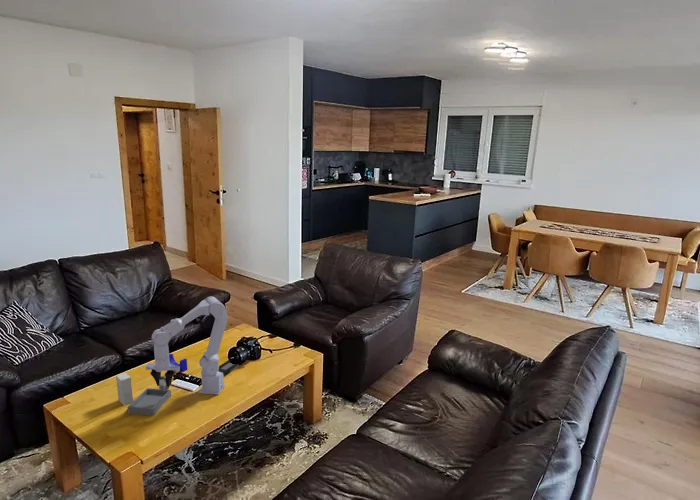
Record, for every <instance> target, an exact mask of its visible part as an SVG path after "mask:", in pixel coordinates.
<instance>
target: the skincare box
mask: <svg viewBox="0 0 700 500" xmlns="http://www.w3.org/2000/svg"><path fill="white" fill-rule="evenodd" d="M115 378H116V387H117V389H116V390H117V399H118V401H119V402H120V403H121V404H122V405H123V406H126V405H128V404H129V405H130V404H131V403H132V402H133V401H134V397H133V388H132V387H133V385H132V377H131V376H130V375H129V374H128V373H126V372H124V373H120V374H117V375H115Z"/></svg>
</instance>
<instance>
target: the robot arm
mask: <svg viewBox="0 0 700 500" xmlns="http://www.w3.org/2000/svg"><path fill="white" fill-rule="evenodd" d="M210 314H211V315H212V316H213V317H214V322H213V326H212V329H211V332H210V337H209V340H208V344H207V347H206V350H205V351H204V352H203V355H202V356H201V358H200V360H199V366H200V367H201V372H200V373H201V376H200V377H201V389H200V390H199V392H198V394H202V395H203V394H204V395H205V394H206V395H220V393H221V392H222V390H223V389H224V388H225V386H226V385H225V378H224V375H223V373H222V372H219V371H218V370H219V366H220V365H219V362H220V358H219V351H220V347H221V344H222V340H223V337H224V333H225V329H226V325H227V322H228V319H229V316H228V314H227V310H226V306H225V305H224V304H223V303H222V302H221V301H220V300H218V299H217V297H215V296H212V295H211V296H207V297H206V298H205V299H203V300H201V301H200V302H199V303H198V304H197V305H196V306H195V307H194V308H192V309H191V310H189V311H188V312H187V313H186V314H185V315H183V316H182V317H180V318H177V317H176V318H174V319H173V318H172V319H171V320H170V322H169V323H167V324H165V325H164V326H161V327H160V328H158V329H155V330H153V333H152V334H151V339H152V340H153V353H154V363H147V364H146V365H145V371H149V370H150V376H152V378H153V379H154V381H155V384H156V386H157V387H159V377H161V376H162V372H163V371H164V372H165V371H166V372H165V373H164V376H165V377H166V380H167V387H169V388H170V386H171V385H172V380H173V377H174V374H175V372H176V373H179V372H181V371H180V366H176V365H173V364H170V361H169V354H170V350H169V349H170V348H169V342H170V340H171V339H172V338H173V337H174V336H176V335H177V334H179V333H180V332H182V331H183V330H184V329H185V326H186V325H187V324H189V323H190V322H192V321H193V320H194V319H195V320H196V319H197V318H198V317H200V316H210Z"/></svg>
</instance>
